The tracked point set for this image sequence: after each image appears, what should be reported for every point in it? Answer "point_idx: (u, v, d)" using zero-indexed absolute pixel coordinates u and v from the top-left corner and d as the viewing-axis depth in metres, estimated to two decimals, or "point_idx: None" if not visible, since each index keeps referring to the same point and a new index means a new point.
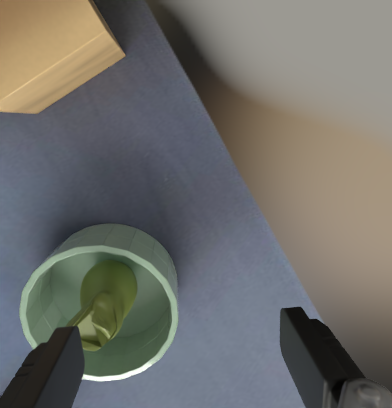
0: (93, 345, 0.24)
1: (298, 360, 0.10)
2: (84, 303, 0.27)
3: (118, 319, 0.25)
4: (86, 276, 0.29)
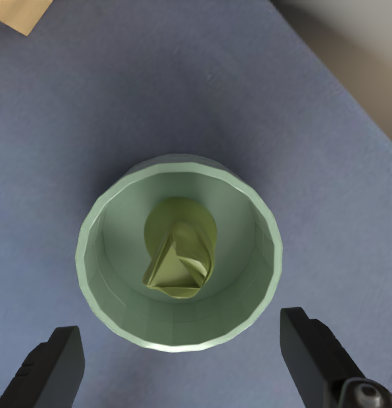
0: (188, 289, 0.17)
1: (298, 360, 0.10)
2: (156, 250, 0.20)
3: (209, 249, 0.18)
4: (147, 222, 0.22)
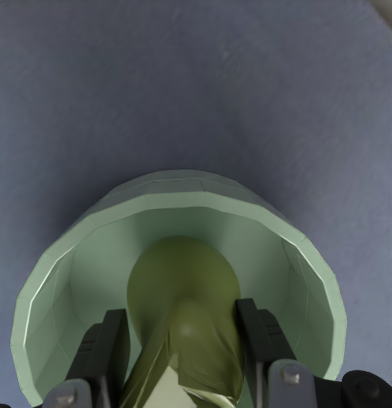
0: None
1: (244, 346, 0.11)
2: (144, 334, 0.12)
3: (237, 353, 0.10)
4: (132, 279, 0.14)
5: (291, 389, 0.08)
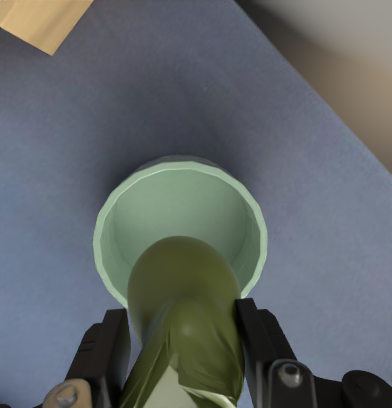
0: None
1: (244, 347, 0.11)
2: (144, 334, 0.12)
3: (237, 353, 0.10)
4: (132, 279, 0.14)
5: (291, 389, 0.08)
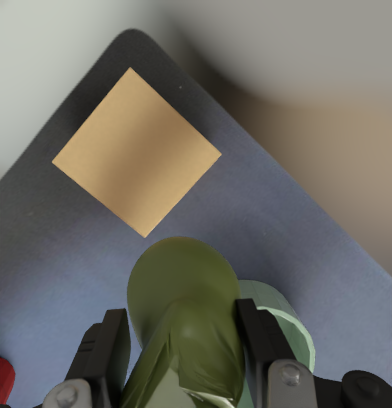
0: None
1: (244, 347, 0.11)
2: (144, 336, 0.12)
3: (238, 355, 0.10)
4: (132, 280, 0.14)
5: (291, 389, 0.08)
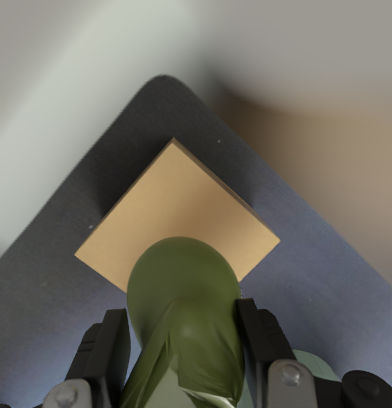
0: None
1: (244, 347, 0.11)
2: (144, 336, 0.12)
3: (238, 355, 0.10)
4: (131, 280, 0.14)
5: (291, 389, 0.08)
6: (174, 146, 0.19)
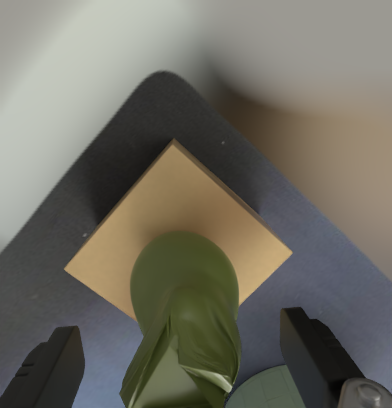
0: None
1: (298, 360, 0.10)
2: (146, 323, 0.13)
3: (234, 338, 0.10)
4: (134, 271, 0.15)
5: None
6: (175, 148, 0.17)
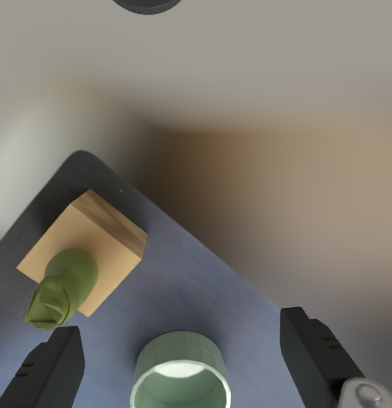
0: (50, 323, 0.25)
1: (298, 360, 0.10)
2: None
3: (69, 295, 0.26)
4: (45, 269, 0.31)
5: None
6: (71, 206, 0.33)
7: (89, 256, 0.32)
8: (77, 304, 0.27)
